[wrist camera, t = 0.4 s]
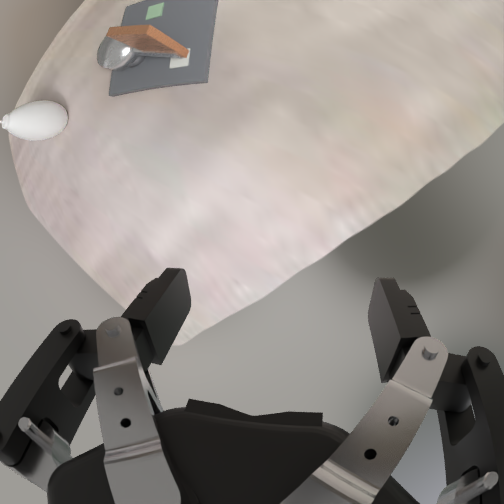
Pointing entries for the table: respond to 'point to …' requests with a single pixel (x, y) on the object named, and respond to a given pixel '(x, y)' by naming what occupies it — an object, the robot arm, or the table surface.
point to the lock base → (179, 29)
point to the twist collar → (136, 46)
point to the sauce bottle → (36, 120)
